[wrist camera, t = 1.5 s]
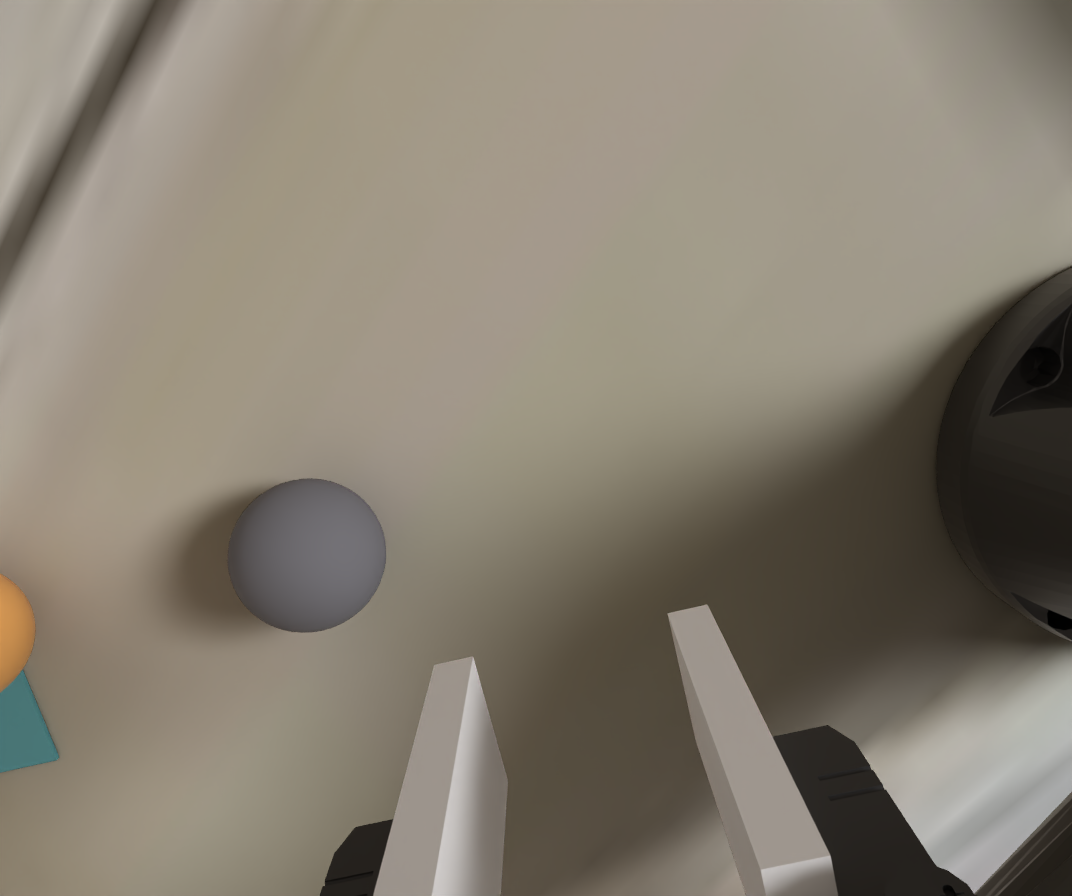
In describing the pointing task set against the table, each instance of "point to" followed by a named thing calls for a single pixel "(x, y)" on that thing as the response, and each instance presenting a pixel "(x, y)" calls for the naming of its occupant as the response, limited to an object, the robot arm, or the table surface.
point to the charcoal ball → (306, 555)
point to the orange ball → (14, 631)
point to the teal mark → (22, 728)
